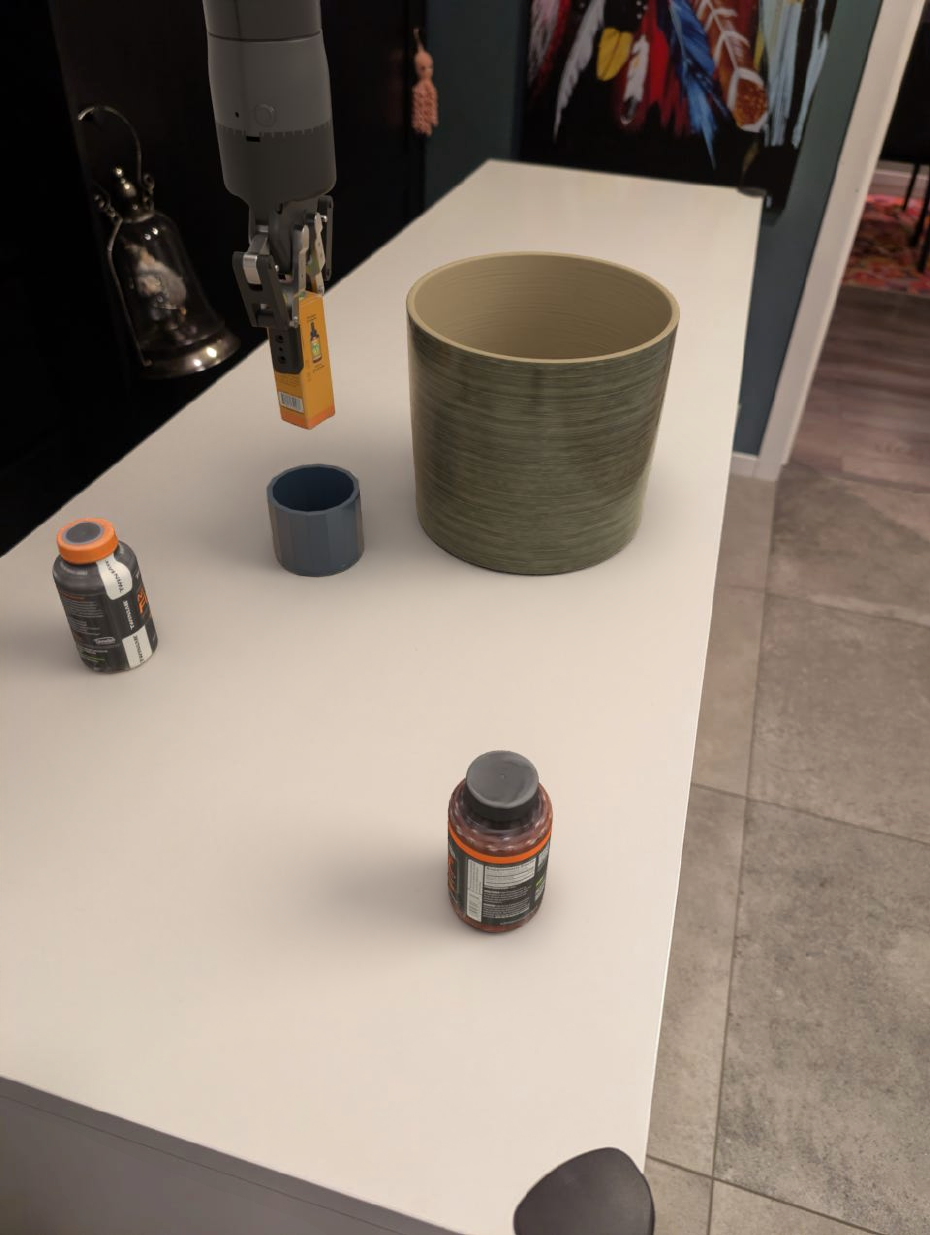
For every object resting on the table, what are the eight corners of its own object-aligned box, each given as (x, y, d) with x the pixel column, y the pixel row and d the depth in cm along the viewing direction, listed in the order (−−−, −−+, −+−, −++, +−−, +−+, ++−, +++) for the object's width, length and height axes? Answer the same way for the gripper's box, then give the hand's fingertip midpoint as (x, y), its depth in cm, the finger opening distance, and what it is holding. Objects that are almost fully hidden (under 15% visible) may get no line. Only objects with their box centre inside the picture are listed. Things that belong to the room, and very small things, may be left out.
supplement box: (304, 403, 78) (292, 283, 72) (336, 416, 77) (327, 294, 70) (276, 419, 76) (261, 297, 70) (308, 433, 75) (296, 309, 68)
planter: (371, 544, 86) (358, 331, 73) (462, 429, 102) (465, 236, 89) (610, 605, 80) (643, 385, 67) (668, 473, 96) (704, 273, 83)
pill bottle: (170, 656, 75) (140, 539, 67) (94, 686, 72) (54, 567, 65) (143, 614, 78) (111, 499, 71) (70, 641, 76) (29, 524, 68)
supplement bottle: (449, 851, 62) (450, 732, 54) (542, 854, 61) (555, 735, 54) (445, 935, 57) (445, 818, 50) (545, 939, 57) (560, 822, 50)
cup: (262, 569, 83) (252, 507, 79) (293, 519, 89) (285, 458, 85) (348, 582, 82) (343, 520, 78) (374, 530, 88) (370, 470, 84)
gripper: (259, 82, 68) (286, 315, 79) (170, 136, 57) (215, 396, 69) (361, 89, 67) (373, 325, 78) (289, 145, 56) (315, 408, 67)
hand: (299, 357), depth 73 cm, fingers closed on supplement box, 4 cm apart
